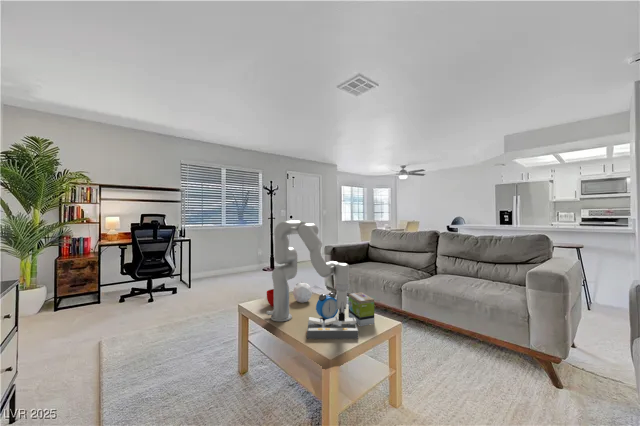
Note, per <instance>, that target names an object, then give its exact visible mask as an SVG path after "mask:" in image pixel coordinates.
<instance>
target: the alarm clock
mask: <svg viewBox="0 0 640 426" xmlns="http://www.w3.org/2000/svg"><path fill="white" fill-rule="evenodd" d="M336 301H337V294H335V293H334V292H329V293H327V294H325V293H323V294H320V295H319V296H318V300H317V302H316V305H315V310H316V313H317V315H318V316H320V317H321V318H322V319H324V320H323V321H325V320H326V319H330V318H334V317H336V315H337V314H338V313H339V309H337V306H336Z"/></svg>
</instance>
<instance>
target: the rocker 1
mask: <svg viewBox="0 0 640 426" xmlns="http://www.w3.org/2000/svg"><path fill="white" fill-rule="evenodd" d="M323 319H324V318H318V317H313V316H312V317H311V316H309V317H308V321H309V322H310V323H315V324H321V325H322V323H323V321H324V320H323Z"/></svg>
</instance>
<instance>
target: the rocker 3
mask: <svg viewBox="0 0 640 426" xmlns="http://www.w3.org/2000/svg"><path fill="white" fill-rule="evenodd" d="M349 323H356V319H355V317H354V318H350V317H346V318H345V321H342V324H349ZM356 324H357V323H356Z"/></svg>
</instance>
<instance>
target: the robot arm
mask: <svg viewBox="0 0 640 426" xmlns="http://www.w3.org/2000/svg"><path fill="white" fill-rule="evenodd" d="M273 234H274V235H273V236H274V261H275V263H276V264H277V265H278V264H279V266H276V267H275V268H274V269H273V270H272V273H271V279H272V285H273V289H274V307H273V310H266V315H267V316H271V317H270V319H271V320H272V321H274V322H280V323H281V322H287V321H290V320H292V319H293V318H292V317H293V315H292V314H291V313H290V286H289V283H288V281H289V280H292V279H294V278H295V277H296V276H297V274H298V252H297V250H296V249H295V248H294V247H292V246H290V241H289V240H290V239H289V238H288V236H290V235H291V236H292V235H298V236H299V238H300V239H301V241H302V242H303V244H304V245H305V247H306V248H307V250H308V251H309V258H310V262H311V265H312V267H313V268H314V270H315V272H316V273H317V274H318V275H319V276H320V277H322V278H328V277H330V276H333V275H335V277H334V289H335V290H336V300H337V301H336V306H337V309H338V319H339V321H345V317H346V314H345V311H346V310H347V301H348V291H349V290H350V264H348V263H346V262H338V261H334V260H330V261H327V262H326V261H325V260H324V258H323V256H322V254H321V249H322V247H323V243H322V241H321V239H320V238H319V236H318V234H319V228H318V225H316V224H315V223H312V222H306V221H302V220H298V219H297V220H295V219H294V220H283V221H280V222H278V224H277V225H275V228H274V233H273Z"/></svg>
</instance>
